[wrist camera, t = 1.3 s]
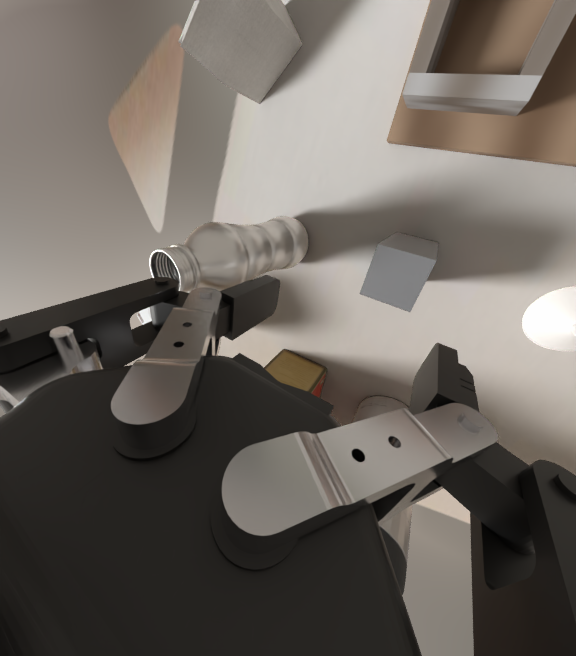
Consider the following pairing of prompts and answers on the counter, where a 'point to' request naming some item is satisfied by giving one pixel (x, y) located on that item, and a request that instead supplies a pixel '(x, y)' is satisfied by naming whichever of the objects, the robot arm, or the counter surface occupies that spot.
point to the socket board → (493, 81)
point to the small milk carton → (242, 42)
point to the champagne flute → (553, 320)
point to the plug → (400, 270)
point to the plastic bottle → (231, 253)
